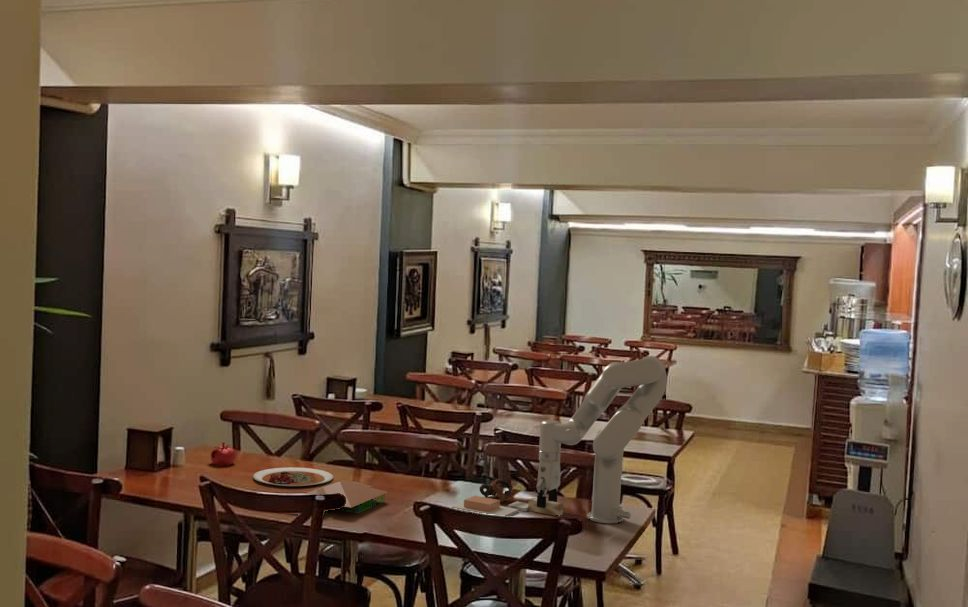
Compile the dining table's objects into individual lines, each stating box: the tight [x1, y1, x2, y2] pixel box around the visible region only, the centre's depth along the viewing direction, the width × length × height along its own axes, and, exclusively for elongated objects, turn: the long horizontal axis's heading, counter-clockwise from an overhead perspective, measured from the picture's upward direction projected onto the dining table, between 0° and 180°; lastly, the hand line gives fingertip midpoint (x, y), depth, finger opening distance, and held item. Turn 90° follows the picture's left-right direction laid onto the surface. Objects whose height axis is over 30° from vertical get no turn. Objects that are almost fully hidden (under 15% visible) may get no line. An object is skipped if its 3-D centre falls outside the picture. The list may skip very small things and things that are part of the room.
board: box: [451, 501, 519, 517], centre depth 320 cm, size 20×12×1 cm, turn 62°
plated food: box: [252, 466, 334, 487], centre depth 352 cm, size 30×30×3 cm
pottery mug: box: [479, 478, 513, 503], centre depth 336 cm, size 12×9×8 cm
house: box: [303, 479, 389, 515], centre depth 319 cm, size 23×33×8 cm
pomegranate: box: [210, 441, 237, 467], centre depth 370 cm, size 10×10×9 cm
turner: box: [507, 497, 564, 517], centre depth 324 cm, size 19×7×4 cm, turn 62°
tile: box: [463, 495, 501, 512], centre depth 321 cm, size 3×8×10 cm
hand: (546, 504), depth 322 cm, fingers open, 9 cm apart
